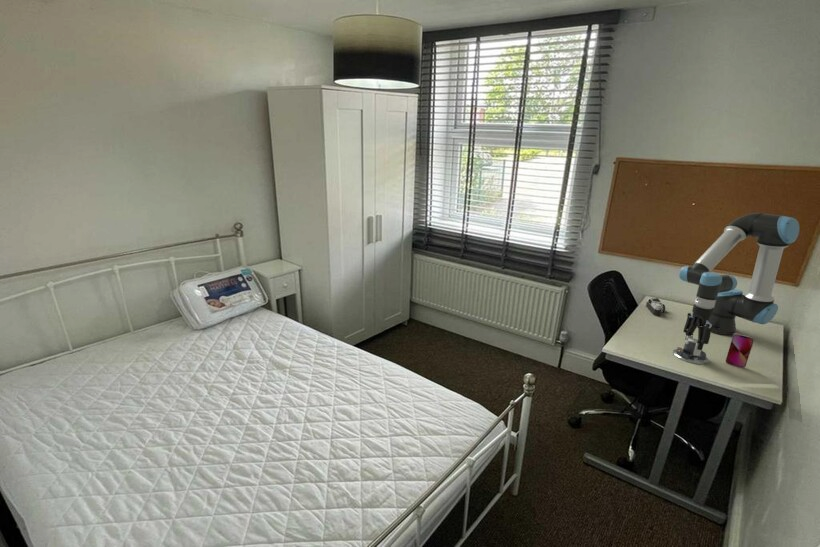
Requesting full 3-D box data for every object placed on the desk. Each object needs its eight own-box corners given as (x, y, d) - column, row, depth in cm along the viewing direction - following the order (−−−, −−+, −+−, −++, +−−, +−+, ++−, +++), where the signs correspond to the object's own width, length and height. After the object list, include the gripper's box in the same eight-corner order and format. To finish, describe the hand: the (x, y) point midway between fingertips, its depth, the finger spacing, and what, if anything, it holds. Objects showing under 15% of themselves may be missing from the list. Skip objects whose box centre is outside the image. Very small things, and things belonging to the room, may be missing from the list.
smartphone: (724, 362, 184) (733, 333, 180) (724, 361, 185) (733, 332, 181) (745, 368, 180) (754, 338, 175) (745, 367, 180) (754, 337, 176)
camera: (668, 320, 230) (672, 304, 227) (652, 318, 232) (656, 302, 229) (658, 310, 245) (661, 295, 242) (643, 308, 247) (646, 293, 244)
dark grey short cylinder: (693, 349, 191) (696, 337, 189) (702, 355, 185) (705, 343, 183) (678, 348, 191) (682, 337, 189) (687, 355, 185) (690, 343, 183)
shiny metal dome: (694, 350, 196) (695, 344, 195) (715, 364, 182) (717, 358, 181) (666, 349, 195) (667, 343, 194) (685, 364, 182) (687, 358, 181)
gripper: (681, 298, 190) (670, 342, 197) (710, 314, 172) (697, 361, 179) (697, 298, 190) (685, 342, 197) (727, 314, 172) (714, 362, 179)
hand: (691, 351), depth 188 cm, fingers closed on dark grey short cylinder, 6 cm apart
